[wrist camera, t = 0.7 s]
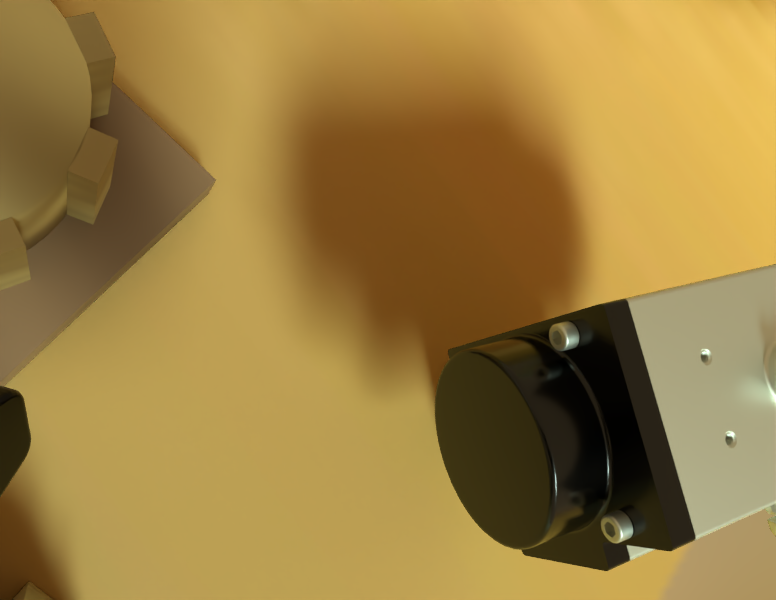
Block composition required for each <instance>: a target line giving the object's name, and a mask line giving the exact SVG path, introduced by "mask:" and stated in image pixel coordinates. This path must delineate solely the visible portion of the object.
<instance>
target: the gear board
mask: <svg viewBox="0 0 776 600" xmlns="http://www.w3.org/2000/svg"><path fill="white" fill-rule="evenodd" d="M115 58H116V56H115V54H114V52H113V50H112V48H111V46H110V44H109V42H108V40H107V38H106V36H105V34H104V32H103V29H102V27H101V25H100V23H99V21H98V19H97V17H96V15H95V13H94V12H92V13H87V14H83V15H78V16H73V17H68V18H64V17H63V15H62V14H61V13H60V11H59V10H58V9H57V7H56V6H55V5H54V4H53V3H52V2H51V1H50V0H0V386H3V387H4V386H5V385H6V384H7V383H8V382H9V381H10V380H11V379H12V378H13V377H14V376H15V375H17V374H18V373H19V372H20V371H21V370H22V369H23V368H24V367H25V366H26V365H27V364H28V363H29V362H30V361H31V360H32V359H34V358H35V357H36V356H37V355H38V354H39V353H40V352H41V351H42V350H43V349H44V348H45V347H46V346H47V345H48V344H49V343H51V342H52V341H53V340H54V339H55V338H56V337H57V336H58V335H59V334H60V333H61V332H62V331H63V330H64V329H65V328H66V327H68V326H69V325H70V324H71V323H72V322H73V321H74V320H75V319H76V318H77V317H78V316H79V315H80V314H81V313H82V312H83V311H85V310H86V309H87V308H88V307H89V306H90V305H91V304H92V303H93V302H94V301H95V300H96V299H97V298H98V297H99V296H100V295H102V294H103V293H104V292H105V291H106V290H107V289H108V288H109V287H110V286H111V285H112V284H113V283H114V282H115V281H116V280H117V279H118V278H120V277H121V276H122V275H123V274H124V273H125V272H126V271H127V270H128V269H129V268H130V267H131V266H132V265H133V264H134V263H135V262H137V261H138V260H139V259H140V258H141V257H142V256H143V255H144V254H145V253H146V252H147V251H148V250H149V249H150V248H151V247H152V246H154V245H155V244H156V243H157V242H158V241H159V240H160V239H161V238H162V237H163V236H164V235H165V234H166V233H167V232H168V231H169V230H171V229H172V228H173V227H174V226H175V225H176V224H177V223H178V222H179V221H180V220H181V219H182V218H183V217H184V216H185V215H186V214H188V213H189V212H190V211H191V210H192V209H193V208H194V207H195V206H196V205H197V204H198V203H199V202H200V201H201V200H202V199H203V198H205V197H206V196H207V195H208V194H209V192H210V190H211V188H212V186H213V185H214V183H215V181H216V179H214V178H213V177H212V176H211V175H210V174H209V173H208V172H207V171H206V170H205V169H204V168H203V167H202V166H201V165H200V164H199V163H198V162H196V161H195V160H194V159H193V158H192V157H191V156H190V155H189V154H188V153H187V152H186V151H185V150H184V149H183V148H182V147H181V146H180V145H178V144H177V143H176V142H175V141H174V140H173V139H172V138H171V137H170V136H169V135H168V134H167V133H166V132H165V131H164V130H163V129H162V128H160V127H159V126H158V125H157V124H156V123H155V122H154V121H153V120H152V119H151V118H150V117H149V116H148V115H147V114H146V113H145V112H144V111H143V110H141V109H140V108H139V107H138V106H137V105H136V104H135V103H134V102H133V101H132V100H131V99H130V98H129V97H128V96H127V95H126V94H125V93H123V92H122V91H121V90H120V89H119V88H118V87H117V86H116V85H115V84H114V83H113V82H112V80H113V73H114V65H115Z"/></svg>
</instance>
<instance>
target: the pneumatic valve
mask: <svg viewBox="0 0 776 600" xmlns="http://www.w3.org/2000/svg"><path fill="white" fill-rule="evenodd" d="M448 355H449V360H448V362H447V363H446V365H445V366H444V368H443V370H442V372H441V375H440V377H439V381H438V385H437V390H436V398H435V421H436V430H437V436H438V442H439V446H440V451H441V454H442V458H443V461H444V464H445V467H446V470H447V473H448V475H449V478H450V480H451V483H452V485H453V487H454V489H455V491H456V493H457V495H458V497H459V499H460V500H461V502H462V504H463V506H464V507H465V509H466V510H467V512H468V513H469V515H470V516H471V517H472V519H473V520H474V521H475V522H476V523H477V525H478V526H479V527H480V528H481V529H482V530H483V531H484V532H485V533H486V534H488V535H489V536H490V537H491V538H493V539H494V540H495V541H497V542H499V543H500V544H502V545H504V546H506V547H510V548H513V549H519V550H522V552H523V554H524V555H526V556H531V557H536V558H541V559H546V560H552V561H557V562H562V563H567V564H572V565H578V566H583V567H588V568H593V569H598V570H604V571H608V570H610V569H613V568H615V567H617V566H619V565H622V564H624V563H626V562H628V561H631V560H633V559H635V558H637V557H640V556H642V555H644V554H646V553H649V552H651V551H653V550H655V549H657V550H664V551H672V550H675V549H677V548H679V547H681V546H684V545H686V544H688V543H690V542H692V541H695V540H697V539H699V538H701V537H703V536H706V535H708V534H710V533H712V532H714V531H717V530H719V529H721V528H723V527H725V526H728V525H730V524H732V523H734V522H736V521H739V520H740V519H743V518H745V517H747V516H750V515H752V514H754V513H756V512H759V511H761V510H763V509H765V510H766V511H767V512H768V513H769V514H771V515H776V264H773V265H769V266H765V267H760V268H756V269H751V270H747V271H743V272H738V273H734V274H730V275H725V276H721V277H716V278H712V279H708V280H703V281H699V282H695V283H690V284H686V285H681V286H677V287H673V288H668V289H664V290H660V291H655V292H651V293H646V294H642V295H638V296H633V297H629V298H625V299H620V300H616V301H612V302H607V303H603V304H599V305H595V306H592V307H589V308H585V309H582V310H579V311H575V312H572V313H569V314H565V315H562V316H559V317H555V318H552V319H549V320H545V321H542V322H539V323H535V324H532V325H529V326H525V327H522V328H519V329H515V330H512V331H509V332H505V333H502V334H499V335H496V336H492V337H489V338H486V339H482V340H479V341H476V342H472V343H469V344H466V345H462V346H459V347H456V348H452V349H449V350H448ZM768 524H769V527H770V530H771V531H772V533H773V534H774V535H775V536H776V516H774V517H772V518H770V519H768Z"/></svg>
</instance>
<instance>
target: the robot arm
mask: <svg viewBox="0 0 776 600" xmlns="http://www.w3.org/2000/svg"><path fill="white" fill-rule="evenodd" d="M30 443H31V435H30V429H29V424H28V418H27V413H26V407H25V402H24V398H23V396H22V395H21V394H20V392H18V391H16V390H14V389H10V388H7V387H3V386H0V497H1V495H2V494H3V492H4V491H5V489H6V487H7V486H8V484H9V483H10V481H11V480H12V478H13V476H14V475H15V473H16V472H17V470H18V469H19V467H20V466H21V464H22V462H23V461H24V459H25V457H26V456H27V453H28V451H29V448H30Z"/></svg>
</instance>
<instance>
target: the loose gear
mask: <svg viewBox="0 0 776 600" xmlns="http://www.w3.org/2000/svg"><path fill="white" fill-rule="evenodd" d="M12 600H53V599H52V598H50V597H49V596H48V595H47V594H45V593H44V592H43V591H41V590H40V589H39V588H38V587H36V586H35V585H34V584H32V583H31V582H30V581H29V582H28V583H27V584H26V585H25V586H24V587H23V588H22V589H21V591H20V592H19V593H18V594H17V595H16V596H15V597H14V598H13V599H12Z"/></svg>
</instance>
